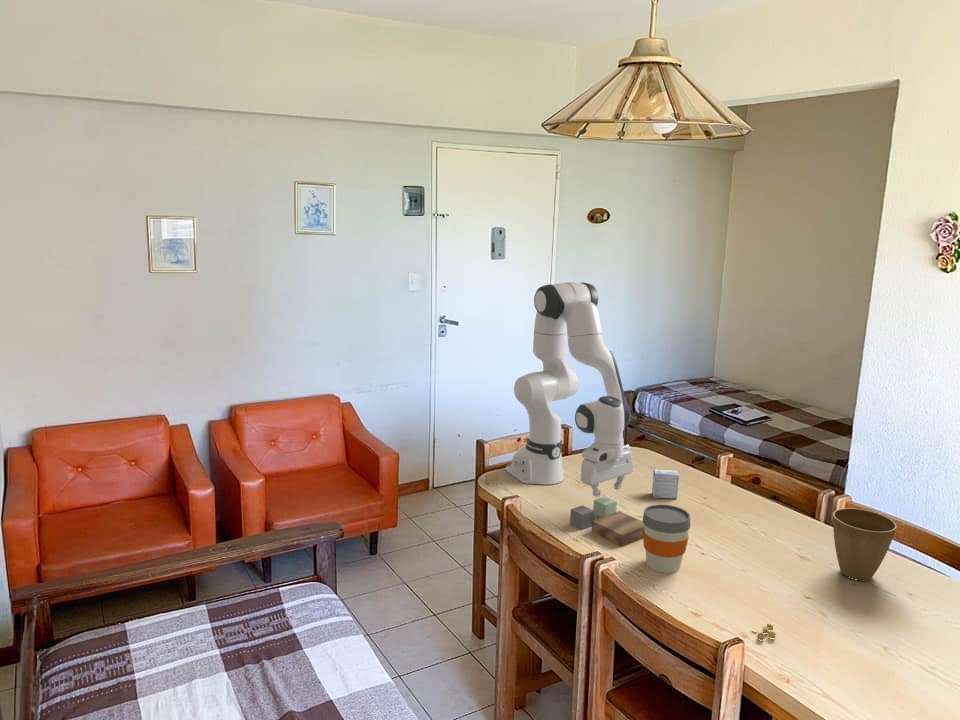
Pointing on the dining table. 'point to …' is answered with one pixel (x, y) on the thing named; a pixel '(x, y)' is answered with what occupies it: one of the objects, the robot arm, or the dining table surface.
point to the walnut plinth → (618, 528)
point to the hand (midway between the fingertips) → (607, 492)
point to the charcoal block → (581, 517)
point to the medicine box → (665, 484)
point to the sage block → (604, 506)
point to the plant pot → (861, 541)
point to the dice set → (765, 630)
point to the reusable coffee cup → (665, 537)
